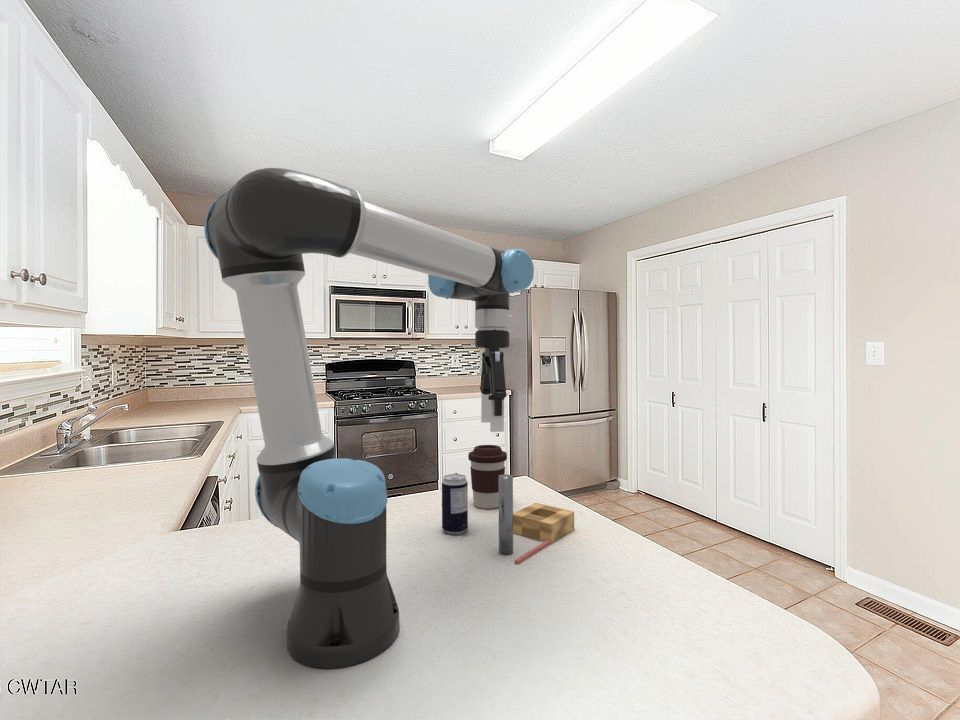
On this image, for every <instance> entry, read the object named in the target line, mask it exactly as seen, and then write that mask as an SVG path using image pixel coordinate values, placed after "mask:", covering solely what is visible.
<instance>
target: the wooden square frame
mask: <svg viewBox="0 0 960 720" xmlns="http://www.w3.org/2000/svg"><path fill="white" fill-rule="evenodd" d="M574 530H575V511H573V510H569V509H565V508H560V507H557V506H551V505H547V504H543V503H538V502H534V503H532V504H530V505H528V506H526V507H523V508H521V509H520V510H517V511H515V512H513V534H516V535H518V536H519V535H520V536H522V537H526V538H529V539H533V540H537V541H540V542H542V543H543V542H545V541H547V540H550V541H551V544H550V545H552V544H554V543H555V542H556V541H558V540H559V539H561V538H563V537H565V536H566V535H568V534H569V533H571V532H573V531H574Z"/></svg>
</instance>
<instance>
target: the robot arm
mask: <svg viewBox="0 0 960 720" xmlns="http://www.w3.org/2000/svg"><path fill="white" fill-rule="evenodd" d="M207 211H208V212H207V214H206V217H205V221H204V226H203V228H204V229H203V230H204V236H205V237H204V238H205V241H206V245H207V246H208V248H209V250H210V251H211V253H212V254H213V256H214V257H215V258H216V259H217V261H218V265H219V266H218V267H219V269H220V274H221V275H220V276H221V280H222V281H221V282H222V283H224V284H225V285H227V286H228V287H230V289H232V290H233V291H234V292H235V293H236V298H237V305H238V309H239V316H240V319H241V325H242V330H243V335H244V340H245V346H246V352H247V357H248V362H249V368H250V373H251V378H252V384H253V389H254V393H255V400H256V406H257V411H258V415H259V421H260V428H261V431H262V432H261V433H262V436H263V442H264V447H263V448H262V449H261V451H260V452H259V454H258V455H257V457H256V464H257V468H258V473H259V474H258V476H257V479H256V483H255V488H254V489H255V490H254V496H255V502H256V504H257V506H258V509H259V511H260V512H261V515H263V517H264V518H265V519H266V521H268V522H269V523H270V524H272V525H273V526H274V527H276V528H278V529H280V530H281V531H283V532H284V533H286V534H287V535H289V536H290V538H293V540H295V541H296V542H298V545H299V575H300V576H299V587H298V591H297V593H296V596H295V601H294V603H293V608H292V611H291V615H290V618H289V620H288V622H287V626H286V627H287V628H286V648H287V653H289V655H290V656H291V657H292V658H293V660H295V661H297V662H298V663H301V664H303V665H306V666H309V667H314V668H322V669H323V668H324V669H325V668H326V669H328V668H329V669H332V668H343V667H347V666H353V665H356V664H360V663H362V662H365V661H368V660H370V659H372V658H374V657H376V656H378V655H380V654H381V653H382V652H384V651H385V650H386V649H387V648H389V647H390V646H391V645H392V644H393V643H394V642H395V640H396V639H397V637H398V634H399V632H400V609H399V605H398V603H397V599H396V596H395V593H394V591H393V587H392V585H391V583H390V579H389V577H388V576H389V575H388V572H387V504H388V493H387V491H388V490H387V486H386V485H387V484H386V477H385V475H384V473H383V471H382V470H381V468H379V467H378V466H377V465H375V464H373V463H371V462H369V461H365V460H361V459H356V460H354V459H353V458H348V457H346V458H344V457H343V458H337V453H336V447H335V443H334V440H333V439H331V438H329V437H327V436H326V435H325V434H324V433H323V432H322V425H321V420H320V413H319V408H318V402H317V397H316V391H315V390H316V389H315V385H314V384H315V383H314V379H313V373H312V367H311V361H310V356H309V355H310V354H309V349H308V343H307V337H306V332H305V331H306V330H305V325H304V319H303V314H302V308H301V302H300V298H299V297H300V296H299V291H298V289H299V288H298V285H299V283H300V282H301V281H302V279H303V278H304V277H305V276H306V271H305V265H304V259H303V254H320V255H321V254H322V255H327V256H332V257H335V258H341V259H342V258H345V257H346V256H348V255H349V254H352V255H356V256H359V257H363V258H366V259H371V260H374V261H378V262H382V263H385V264H389V265H393V266H397V267H400V268H404V269H408V270H410V271H411V270H412V271H415V272H419V273H422V274H427V278H428V280H427V284H428V289H429V290H430V292H431V294H433V295H434V296H436V297H438V298H439V297H440V298H442V299H446V300H449V299H451V300H463V301H471V302H475V305H474V306H475V309H474V315H475V316H474V327H475V329H477V330H476V332H475V333H474V334H475V335H474V336H475V337H474V345H475V346H474V347H476V349H477V348H478V349H484V351H483V352H482V353H481V357H482V358H481V362H482V363H481V374H480V375H481V376H480V385H479V389H480V393H481V396H480V397H481V401H480V403H481V406H480V407H481V408H480V409H481V410H480V413H481V415H480V416H481V419H480V422H481V423H486V424H487V423H490V425H489V426H490V427H489V429H490V430H489V431H490V432H491V433H497V432H498V433H499V432H500V433H502V432H504V431H505V399H506V398H507V388H506V387H507V386H506V375H505V364H504V355H505V353H504V352H503V351H500V349H508V348H509V347H510V331H508V330H507V329H509V328H510V320H512V319H513V316H512V315H511V314H510V297H511V296H510V294H514V293H516V292H519V291H524V290H526V289H528V288H529V287H530V286H531V284H532V282H533V280H534V277H535V276H534V274H535V273H534V271H535V267H534V262H533V259H532V258H531V256H530V254H529V253H528V252H527V251H525V250H524V249H522V248H508V249H505V250H500V249H497V248H494V247H491V246H488V245H485V244H482V243H479V242H476V241H475V240H472V239H468V238H467V237H463V236H460V235H457V234H454V233H452V232H449V231H446V230H444V229H441V228H439V227H436V226H433V225H430V224H428V223H425V222H422V221H420V220H416V219H413V218H410V217H408V216H406V215H402V214H399V213H398V212H394V211H392V210H389V209H386V208H383V207H380V206H378V205H375V204H372V203H370V202H367V201H363V199H362V196H361V195H360V192H358V191H357V190H356V189H353V188H350V187H348V186H345V185H342V184H339V183H337V182H334V181H331V180H328V179H325V178H322V177H319V176H316V175H312V174H309V173H305V172H301V171H298V170H294V169H287V168H283V167H282V168H280V167H265V168H259V169H256V170H253V171H250V172H247V174H245V175H243V176H242V177H241V178H240V179H238V180H237V181H236V182H235V184H234V185H233V186H232V187H230V188H229V189H228V190H227V191H225V192H224V193H222V194H220V195H219V196H218V197H217V198H216V199H215V200H214V202H213V203H212V204H211V205H210V207H209V209H208V210H207Z"/></svg>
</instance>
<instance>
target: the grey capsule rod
mask: <svg viewBox="0 0 960 720" xmlns="http://www.w3.org/2000/svg"><path fill="white" fill-rule="evenodd" d="M513 513H514V476H513V475H511V474H504V475H499V507H498V554H500V555H502V556H510V555H513V553H514V533H513Z"/></svg>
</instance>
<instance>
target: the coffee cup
mask: <svg viewBox="0 0 960 720" xmlns="http://www.w3.org/2000/svg"><path fill="white" fill-rule="evenodd" d="M467 457H468V460H469V462H470V478H471V479H470V480H471V481H470V482H471V489H472V497H473V505H474V506H475V507H476V508H479V509H482V510H483V509H484V510H491V509H499V475H504V474H505V472H506V466H505V461H507V459H508V453H507V452H506V451H504V450H502V448H501V446H499V445H495V444H494V445H493V444H481V445H479V444H478V445H475V446H474V448H473V450H472V451H470V452H468V455H467Z"/></svg>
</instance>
